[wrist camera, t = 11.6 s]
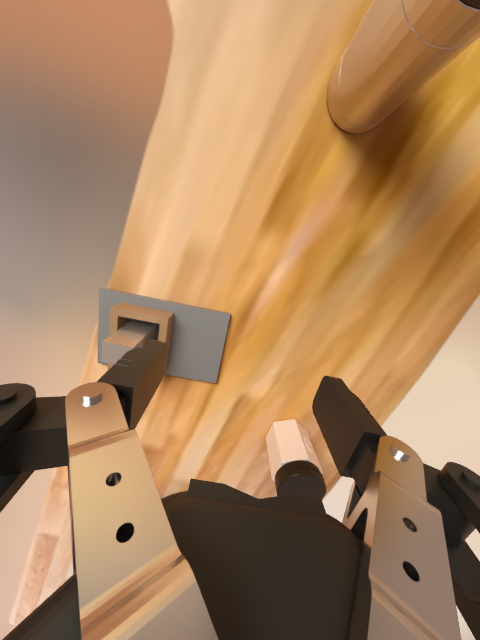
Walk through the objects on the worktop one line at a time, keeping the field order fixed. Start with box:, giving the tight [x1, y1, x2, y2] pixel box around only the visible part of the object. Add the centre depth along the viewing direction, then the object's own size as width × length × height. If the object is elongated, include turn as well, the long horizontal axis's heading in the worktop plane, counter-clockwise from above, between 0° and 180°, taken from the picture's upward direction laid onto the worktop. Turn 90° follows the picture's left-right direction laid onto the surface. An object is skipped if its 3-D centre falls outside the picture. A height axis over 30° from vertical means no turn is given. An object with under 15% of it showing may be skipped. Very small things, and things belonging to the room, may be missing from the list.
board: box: [98, 288, 230, 383], centre depth 39 cm, size 14×22×4 cm, turn 78°
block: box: [101, 319, 158, 364], centre depth 35 cm, size 6×4×10 cm, turn 167°
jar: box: [266, 419, 326, 499], centre depth 42 cm, size 9×8×12 cm
